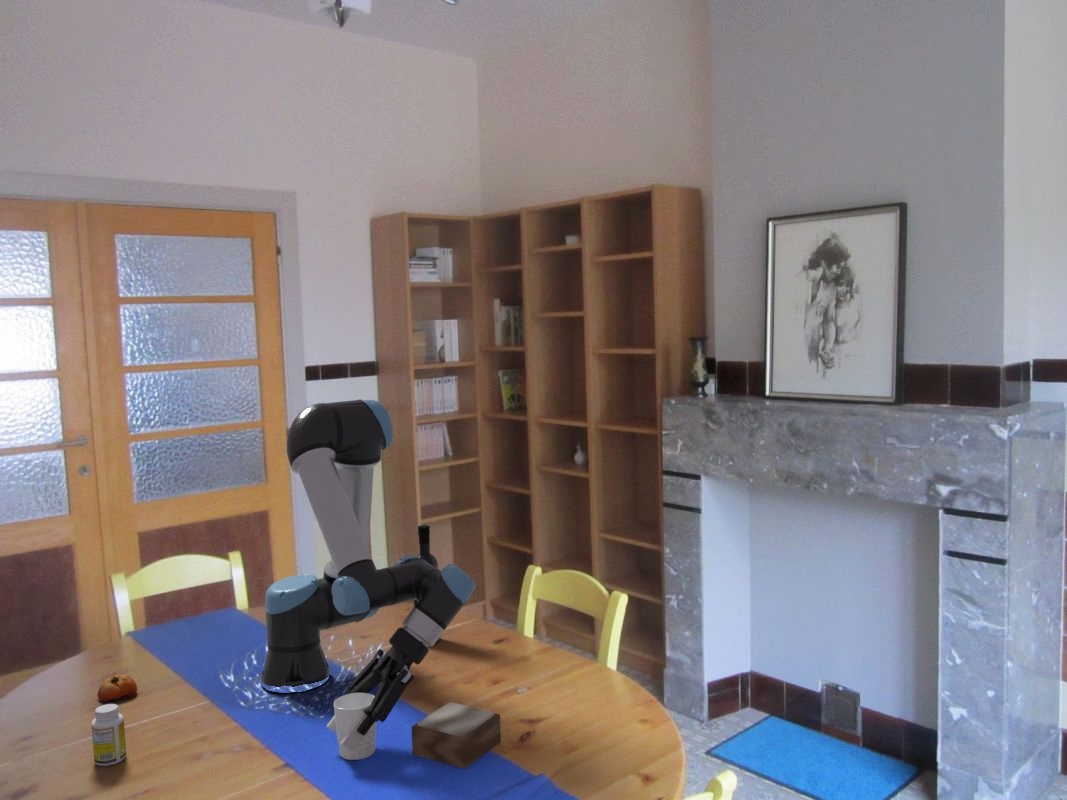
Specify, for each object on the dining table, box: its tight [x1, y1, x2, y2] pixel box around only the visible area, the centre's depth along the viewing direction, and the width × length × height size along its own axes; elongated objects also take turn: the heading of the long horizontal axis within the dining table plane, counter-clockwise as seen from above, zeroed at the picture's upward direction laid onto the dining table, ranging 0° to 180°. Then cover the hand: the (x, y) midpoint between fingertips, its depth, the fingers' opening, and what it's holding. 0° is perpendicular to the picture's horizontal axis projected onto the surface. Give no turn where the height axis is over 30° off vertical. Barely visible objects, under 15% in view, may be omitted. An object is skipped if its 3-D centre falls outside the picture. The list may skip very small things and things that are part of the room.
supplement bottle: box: [90, 703, 127, 767], centre depth 168 cm, size 6×6×10 cm
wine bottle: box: [413, 524, 442, 646], centre depth 226 cm, size 6×6×30 cm
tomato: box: [97, 674, 138, 703], centre depth 199 cm, size 8×7×7 cm
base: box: [411, 701, 502, 770], centre depth 170 cm, size 12×12×6 cm
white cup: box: [333, 693, 377, 761], centre depth 169 cm, size 8×8×10 cm
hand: (339, 738), depth 167 cm, fingers closed on white cup, 8 cm apart
